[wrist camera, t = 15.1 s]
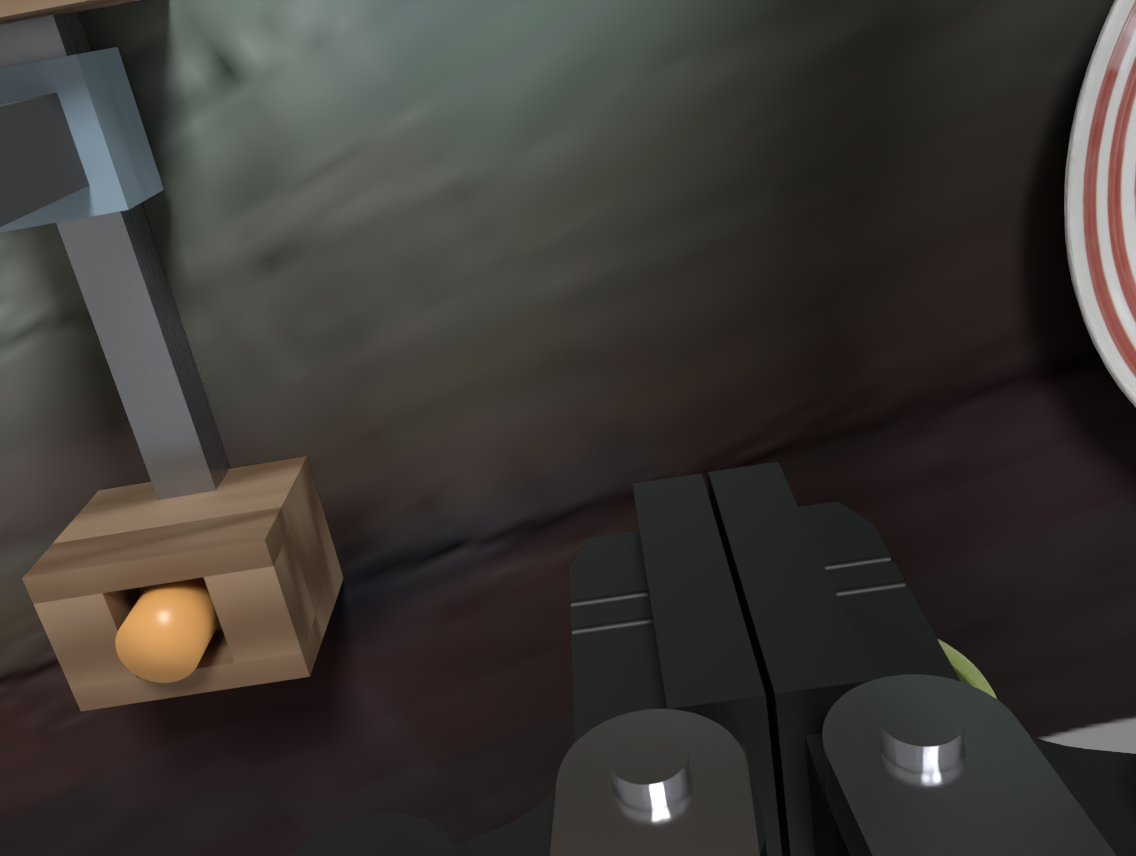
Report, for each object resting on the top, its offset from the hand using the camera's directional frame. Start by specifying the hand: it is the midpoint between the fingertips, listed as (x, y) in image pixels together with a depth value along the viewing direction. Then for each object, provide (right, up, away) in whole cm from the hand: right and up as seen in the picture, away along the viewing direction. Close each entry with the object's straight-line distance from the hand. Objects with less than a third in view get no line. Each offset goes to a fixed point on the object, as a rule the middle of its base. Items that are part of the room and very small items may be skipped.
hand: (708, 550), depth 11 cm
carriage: (-19, +12, +27) cm, 36 cm away
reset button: (-16, -5, +30) cm, 34 cm away
